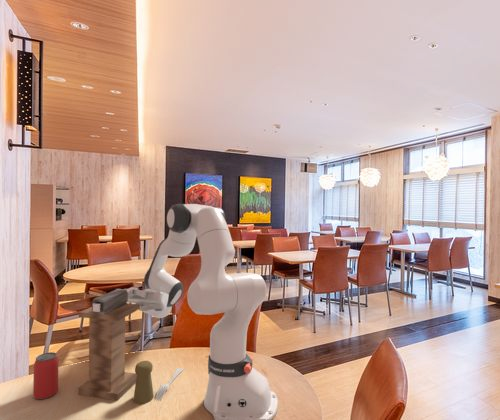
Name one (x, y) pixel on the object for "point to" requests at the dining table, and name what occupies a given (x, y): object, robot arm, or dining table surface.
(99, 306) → the grey bar
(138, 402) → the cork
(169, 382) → the fork
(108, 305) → the tube stand
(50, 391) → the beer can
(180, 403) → the dining table surface
